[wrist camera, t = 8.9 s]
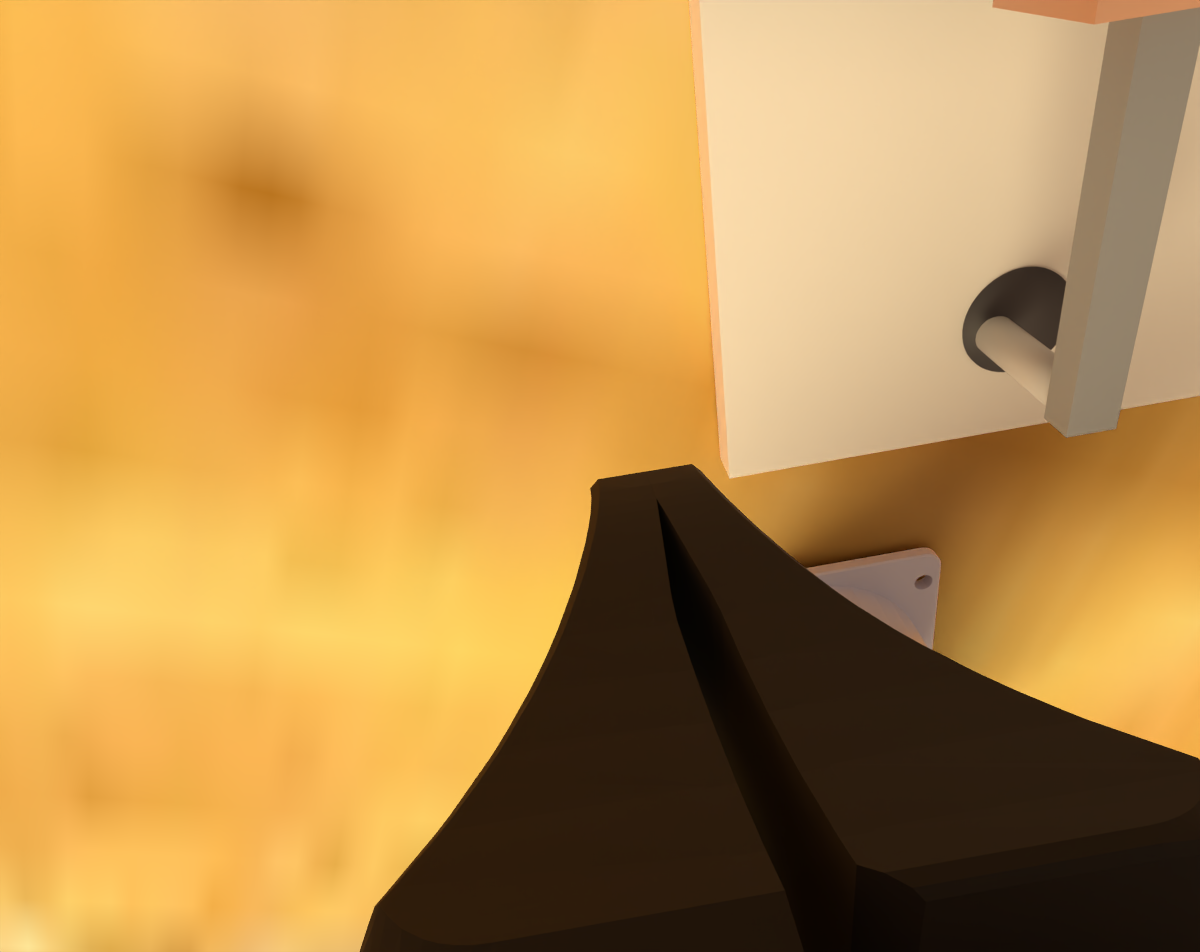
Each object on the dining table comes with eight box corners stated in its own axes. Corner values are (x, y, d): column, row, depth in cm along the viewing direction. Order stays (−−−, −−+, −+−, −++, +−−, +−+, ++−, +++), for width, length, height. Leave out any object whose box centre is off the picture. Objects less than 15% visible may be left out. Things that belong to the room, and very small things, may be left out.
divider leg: (1055, 341, 20) (1179, 431, 17) (929, 363, 20) (1026, 459, 17) (1161, -308, 14) (1395, -385, 11) (979, -279, 14) (1152, -348, 10)
